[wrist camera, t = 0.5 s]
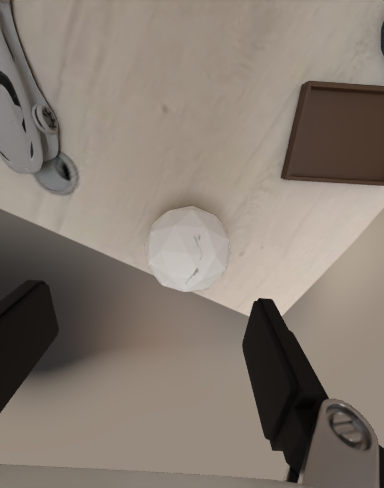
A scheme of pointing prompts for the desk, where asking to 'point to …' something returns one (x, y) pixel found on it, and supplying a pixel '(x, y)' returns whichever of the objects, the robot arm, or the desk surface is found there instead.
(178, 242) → the geodesic sphere
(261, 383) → the robot arm
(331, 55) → the desk surface
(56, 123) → the car model
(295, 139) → the tray
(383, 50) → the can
